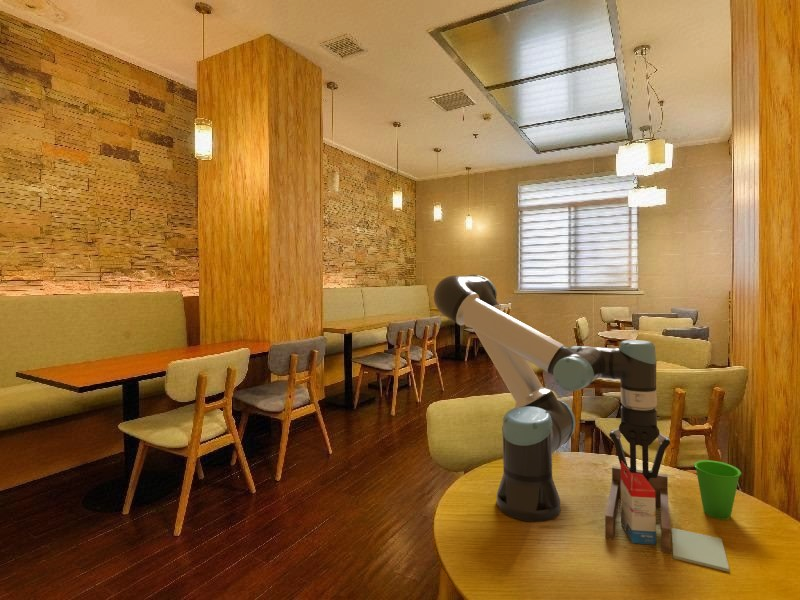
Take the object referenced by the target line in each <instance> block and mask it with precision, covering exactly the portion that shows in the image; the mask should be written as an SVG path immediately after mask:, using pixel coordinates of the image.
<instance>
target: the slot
mask: <svg viewBox="0 0 800 600" xmlns="http://www.w3.org/2000/svg"><path fill="white" fill-rule="evenodd" d="M611 472H612V473H611V484H610V489H609V494H608V499H607V505H606V509H605V514H604V523H605V524H604V525H605V526H604V529H605V530H604V533H605V534H604V538H605V539H610V540H614V535H615V528H616V524H617V523H616V522H617V521H616V520H617V516H618V515H617V514H618V507H619V501H621V466H618V465H612V467H611ZM636 473H639V474H643V469H642V470H641V469H636ZM668 476H669V475H668V474H667V473H661V472H660V473H659V472H658V476H657V478H650V479H649V483H650V485H651V486H652V487H653V488H654V490H655V509H656V508H657V509H660V510H659V511H660V512H659V513H660V514H659V515H660V541H661V552H662V553H666V554H671V520H670V507H669V505H670V504H669V492H668Z"/></svg>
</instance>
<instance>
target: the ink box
mask: <svg viewBox="0 0 800 600" xmlns="http://www.w3.org/2000/svg"><path fill="white" fill-rule="evenodd" d="M620 467H621V500H620V523H621V525H622V527H623V529H624V530H625V532H626V534H627V536H628V538H629V539H630V542H631V543H632V544H640V545H641V544H644V545H657V528H656V526H657V524H656V521H657V520H656V517H657V516H656V507H655V490H654V488H653V487H652V486H651V485H650V483H649V482H648V481H647V479H646V478H645V477H644V475H643V474H639V473H631V472H630V471H629V469H628V468H627V467H626V465H625V464H624V463H623V461H621V466H620ZM625 471H626V472H627V473H625Z"/></svg>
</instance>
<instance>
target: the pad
mask: <svg viewBox="0 0 800 600" xmlns="http://www.w3.org/2000/svg"><path fill="white" fill-rule="evenodd" d="M670 532H671V543H672V558H673V559H675V560H679V561H683V562H687V563H691V564H695V565H700V566H702V567H703V566H704V567H707V568H712V569H715V570H719V571H724V572H727V573H730V566H729V563H728V558H727V555H726V551H725V547H724V543H723V539H722V538H721V537H717V536H710V535H706V534H704V533H703V534H701V533H697V532H694V531H693V532H692V531H689V530H683V529H678V528H674V527H670Z"/></svg>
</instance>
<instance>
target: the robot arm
mask: <svg viewBox="0 0 800 600" xmlns="http://www.w3.org/2000/svg"><path fill="white" fill-rule="evenodd" d="M497 297H498V293H497V289H496V286H495V285H494V283H493V282H492V281H491V280H490V279H489V278H487V277H485V276H481V275H478V274H468V275H448V276H446V277H444V278H443V279H442V280H440V281H439V282H438V283H437V284H436V286H435V288H434V291H433V301H434V302H433V303H434V305H435V307H436V308H437V310H438V311H439V313H441V314H442V315H443V316H444V317H445V318H448V319H449V320H450V321H452V322H454V323H455V324H456V325H458V326H465V327H467V328H471V329H473V331H474V333H475V334H476V336H477V337H478V340H479V341H480V343H481V344H482V347H483V349H484V350H485V352H486V353H487V355H488V356H489V358H490V359H491V362H492V363H493V366H494V367H495V369H496V371H497V372H498V374H499V376H500V377H501V380H502V381H503V382H504V385H505V386H506V388H507V389H508V391H509V392H510V394H511V397H512V398H513V400H514V401H515V405H514V408H511V409H510V410H508V411H507V412H506V413H505V414H504V415H503V417H502V418H503V419H502V426H501V434H502V457H503V458H502V459H503V460H502V461H503V462H502V463H503V467H502V468H503V469H502V470H503V472H502V473H503V474H502V476H501V480H500V484H499V486H498V489H497V493H496V505H498V506H497V507H499V508H498V509H499V510H500V511H501V512H502V513H503V512H504V514H505V515H506V514H507V516H508V517H510V516H511V517H510V518H513V519H515V518H516V519H515V520H520V521H523V522H529V523H530V522H536V523H537V522H538V523H539V522H546V521H550V520H553V519H554V518H556V517H558V516H559V515H560V512H561V499H560V496H559V493H558V490H557V488H556V485H555V481H554V478H553V453H555V452H556V451H557V450H558V449H559V448H560V447H561V446H563V445H565V444H566V443H567V442H568V441H569V440H570V438H571V437H572V435H573V434H574V432H575V429H576V419H575V418H576V417H575V415H574V411H573V410H572V409H571V407H570V406H569V405H568V404H567V403H566V402H564V401H562V400H560V399H558V398H557V396H556V395H555V393H554V392H553V390H552V389H550V388H546V387H544V385H543V384H542V383H541V381H540V379H539V377H538V376H537V374H536V373H535V372H534V370H533V368H532V367H531V365H530V363H531V364H533V365H534V366H537V367H538V368H540V369H541V370H543V371H544V372H547V373H548V374H550V375H552V376H553V379H554V381H555V382H556V384H557V385H558V386H559V387H561V388H562V389H563V390H565V391H571V392H572V391H573V392H575V391H578V390H579V391H580V390H582V389H585V388H586V387H588V386H590V384H592V383H593V382H594V381H596V380H598V379H609V380H610V379H612V380H619V382H620V403H621V404H622V405H621V406H620V423H619V426H618V428H615V429H611V430H610V431H609V434H608V435H609V437H610V439H611V440H612V442H613V443H614V447H615V451H616V454H617V459H618V461H619V465H620V466H619V467H621V461H623V463H624V464H625V465H626V467H627V468H628V469H629V471H630V472H631V473H636V470H637V446H640V447H641V453H642V454H641V455H642V460H641V461H642V465H641V466H642V471H643V475H644V477H645V478H646V479H647V481H648V482H649V479H650V478H657V476H658V473H659V472H660V468H661V465H662V461H663V458H664V454H665V450H666V449H667V448H668V447H669V446H670V444H671V439H670V437H669V436H665V435H663V434H662V433H661V432H660V429H659V428H658V411H657V408H656V407H657V405H658V398H657V396H658V395H657V363H658V362H657V361H658V360H657V357H656V346H655V344H654V343H653V342H651V341H648V340H640V339H635V340H632V339H627V340H621V341H620V342H619V347H614V348H612V347H599V346H598V347H597V346H588V345H582V346H580V345H579V346H578V345H574V346H571V347H568V346H566V345H565V344H563V343H562V342H560V341H558V340H556V339H554V338H552V337H550V336H548V335H547V334H544V333H543V332H541V331H538V330H537V329H535V328H533V327H532V326H530V325H528V324H526V323H524V322H523V321H520V320H518V319H517V318H514V317H513V316H512V315H509V314H507V313H505V312H504V311H502V310H500V309H501V306H500V304H499V302H498V301H497ZM621 434H622V435H621ZM622 436H623V438H624V439H625V440H626V441H627V442H628V444H629V466H628V463H627V459H626V456H625V452H624V448H623V445H622V442H621V437H622ZM656 439H657V444H658V446H657V449H656V453H655V457H654V460H653V464H652V467H651V470H649V468H650V467H649V446H650V445H652V444H653V443H654V441H655V440H656ZM625 473H627V472H626V471H625Z"/></svg>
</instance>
